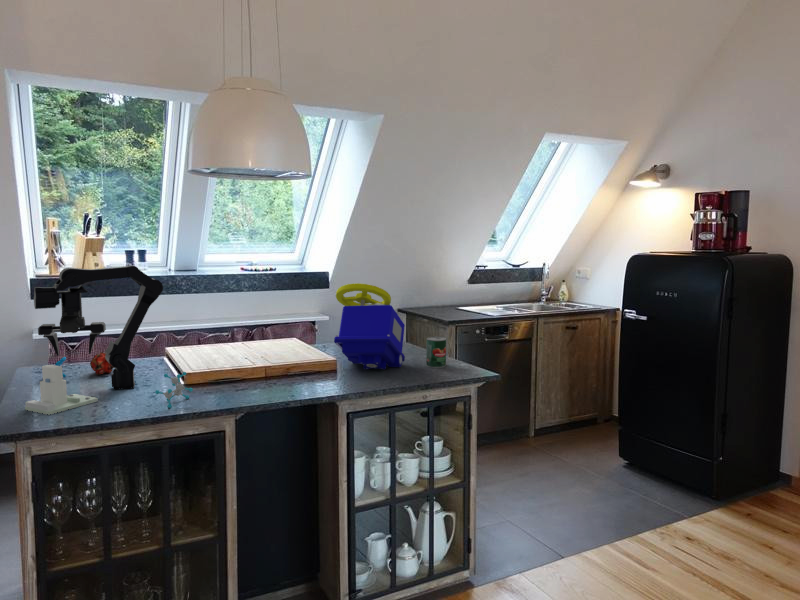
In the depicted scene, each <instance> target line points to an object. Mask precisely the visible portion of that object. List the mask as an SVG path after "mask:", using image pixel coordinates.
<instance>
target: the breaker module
mask: <svg viewBox="0 0 800 600" xmlns="http://www.w3.org/2000/svg"><path fill="white" fill-rule="evenodd" d="M41 370H42V377H43V378H42V380H41V381H39V387H40V389H39V391H40V401H41V402H46V403H51V404H55V406H57V405H61V404H64V403H67V395H68V391H67V389H68V388H67V380H66V379H64V377H63V373H64V372H63V366H61V365H60V366H56V365H55V364H46V365H42V366H41Z"/></svg>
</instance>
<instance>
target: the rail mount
mask: <svg viewBox="0 0 800 600" xmlns="http://www.w3.org/2000/svg"><path fill="white" fill-rule="evenodd" d="M98 401H99V400H98V397H94V396H88V395H83V394H77V393H73V394H72V393H71V394H69V395H68V394H67V403H64V404H61V405H57V406H55V404H51V403H46V402H41V400H34V399H32V400H28V401H25V402H24V403H25V407H24V410H25V411H27V410H28V412H32V411H33V412H32V413H37V412H38V414H42V413H43V415H47V414H48V416H51V415H54V413H55V414H57V412H58V413H61V411H62V412H65V411H68V409H69V410H71V409H75V408H79V407H83V406H85V405H89V404H92V403H95V402H96V403H97V402H98ZM50 414H51V415H50Z"/></svg>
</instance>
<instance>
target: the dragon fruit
mask: <svg viewBox="0 0 800 600" xmlns="http://www.w3.org/2000/svg"><path fill="white" fill-rule="evenodd" d="M105 355H106V352H103V351H101V352H99V354H96V355H94V356H93V357H92V359H91V360H90V362H89V365H90V367H91V368H90V369H91V370H92V371H94V372H95V375H96V376H99V375H100V376H101V374H102V375H103V374H104V373H106V374H110V373H113V370H114V369H115V368H114V367H113V366H112V365H111V364H109V363H108V362H107V360H106V358H105Z"/></svg>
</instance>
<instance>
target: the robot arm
mask: <svg viewBox="0 0 800 600" xmlns="http://www.w3.org/2000/svg"><path fill="white" fill-rule="evenodd" d="M124 278H125V279H126V278H130V279H131V280H132V281H133V282H135V283H136V284H137V285H139V286H140V288H139V292H138V296H137V298H138V299H137V302H136V304H135V306H134V308H133V309H132V312H131V313H130V316H129V318H128V319H127V321H126V323H125V325H124V327H123V329H122V331H121V333H120V335H119V337H118V338H117V339H116V341H114V342H113V340H110V341H109V344H108V346H107V348H106V349H105V350H104V353H106V355H105V358H106V360H107V362H108V363H109V364H111V365H112V366H113V367H114V368H113V369H112V373H111V375H110V377H111V387H112V390H113V391H114V390H128V389H129V390H130V389H134V388H135V386H136V382H135V367H136V364H135V363H133V362H132V361H131V360H129V357H130V352H131V346H132V343H133V340H134V338H135V337H136V334H138V333H137V332H138V330H139V329H140V327H141V324H142V323H143V320H145V316H146V314H147V312H148V311H149V309H150V307H151V306H152V305H153V304H154V303H155V302H156V301H157V299H158V298H159V297H160V296H161V294H162V293H163V291H164V286H163V283H162V282H161V281H160V280H158V279H155V278H152V277H151V276H149V275H147V274H146V273H145V272H143V271H141V269H139V268H138V267H137V266H136V265H133V264H132V265H131V264H129V265H126V266H114V267H103V268H79V267H66V268H63V269H62V270H61V271H59V274H58V280H57V281H55V283H54V284H53V286H49V287H47V286H46V287H40V286H35V287H33V288H34V292H33V295H34V296H33V306H34V309H35V310H42V309H44V310H45V309H56V308H57V306H58V305H60V302H61V305H60V306H61V318H60V321H59V325H56V323H42V324H41V325H40V326H39V327H38V328H37V334H38V336H42V337H43V338H45V339H48V340H49V342H50V344H51V345H52V347H53V350H54V352H55V354H56V356H57V357H59V355H60V346H59V339H58V333H60V334H68V333H70V334H71V333H72V334H76V333H78V332H86V331H88V332H89V331H90V333H89V334H88V335H89V342H88V354H89V355H90V354H92V350H93V348H94V346H95V345H94V343H95V341H96V339H97V337H98V336H100V335H101V334H103V333H105V331H106V330H107V328H106V323H105V322H104V321H99V322H98V321H93V322H91V323H90V324H86V320H85V317H84V316H83V309H82V308H83V306H82V303H83V302H82V294H83V293H84V294H86V293H89V290H87V289H86V288H85V287H84V284H87V283H91V282H94V281H105V280H113V279H114V280H115V279H124ZM77 286H78V287H77ZM66 289H67V290H66ZM60 298H61V299H60Z"/></svg>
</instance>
